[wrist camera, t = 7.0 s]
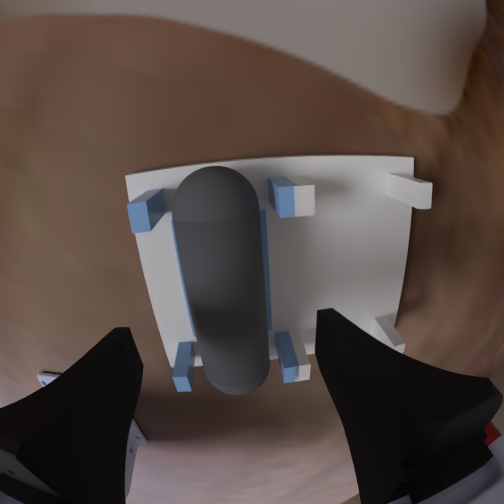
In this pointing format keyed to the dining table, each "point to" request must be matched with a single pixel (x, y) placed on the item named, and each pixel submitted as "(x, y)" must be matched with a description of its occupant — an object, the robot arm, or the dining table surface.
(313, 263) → the board
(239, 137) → the dining table surface
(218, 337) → the dark grey capsule
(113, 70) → the dining table surface
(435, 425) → the robot arm
